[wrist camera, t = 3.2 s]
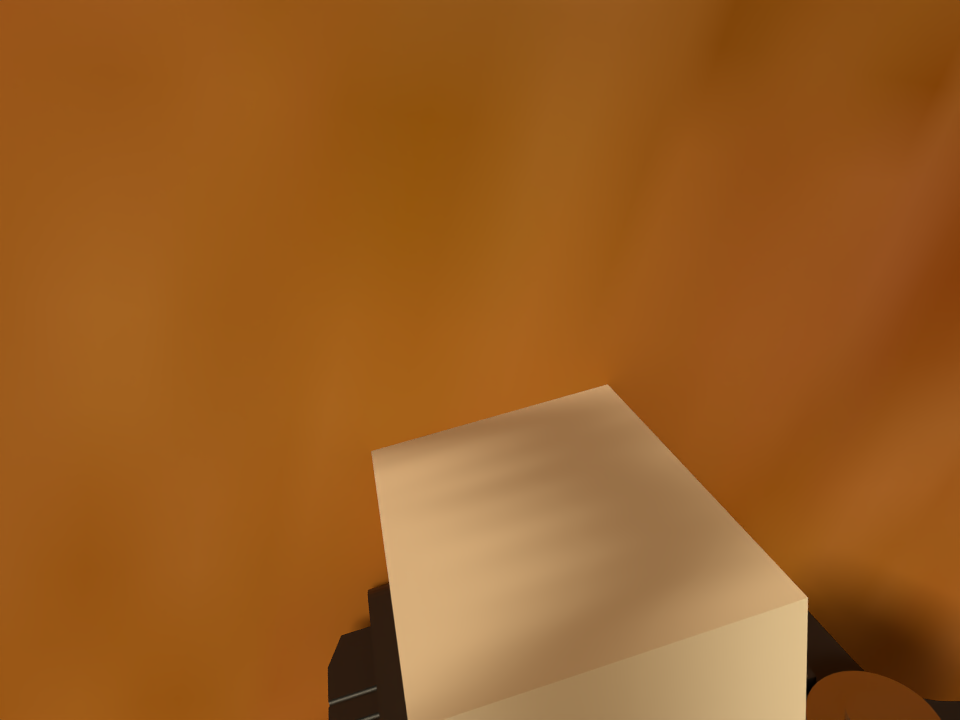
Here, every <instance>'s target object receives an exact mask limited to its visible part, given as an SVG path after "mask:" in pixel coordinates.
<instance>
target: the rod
mask: <svg viewBox="0 0 960 720" xmlns="http://www.w3.org/2000/svg"><path fill="white" fill-rule="evenodd" d="M371 452H372V459H373V467H374V474H375V481H376V489H377V496H378V503H379V511H380V518H381V526H382V533H383V540H384V548H385V555H386V562H387V570H388V577H389V585H390V592H391V599H392V607H393V614H394V622H395V629H396V636H397V644H398V651H399V658H400V666H401V673H402V681H403V688H404V695H405V703H406V710H407V717H408V720H806V673H807V622H808V597H807V596H806V595H805V594H804V593H803V592H802V591H801V590H800V589H799V588H798V587H797V586H796V585H795V583H794V582H793V581H792V580H791V579H790V578H789V577H788V576H787V575H786V574H785V573H784V572H783V571H782V570H781V569H780V568H779V566H778V565H777V564H776V563H775V562H774V561H773V560H772V559H771V558H770V557H769V556H768V555H767V554H766V553H765V552H764V550H763V549H762V548H761V547H760V546H759V545H758V544H757V543H756V542H755V541H754V540H753V539H752V538H751V537H750V536H749V535H748V533H747V532H746V531H745V530H744V529H743V528H742V527H741V526H740V525H739V524H738V523H737V522H736V521H735V520H734V519H733V517H732V516H731V515H730V514H729V513H728V512H727V511H726V510H725V509H724V508H723V507H722V506H721V505H720V504H719V503H718V502H717V500H716V499H715V498H714V497H713V496H712V495H711V494H710V493H709V492H708V491H707V490H706V489H705V488H704V487H703V486H702V484H701V483H700V482H699V481H698V480H697V479H696V478H695V477H694V476H693V475H692V474H691V473H690V472H689V471H688V470H687V469H686V467H685V466H684V465H683V464H682V463H681V462H680V461H679V460H678V459H677V458H676V457H675V456H674V455H673V454H672V453H671V451H670V450H669V449H668V448H667V447H666V446H665V445H664V444H663V443H662V442H661V441H660V440H659V439H658V438H657V437H656V436H655V434H654V433H653V432H652V431H651V430H650V429H649V428H648V427H647V426H646V425H645V424H644V423H643V422H642V421H641V420H640V418H639V417H638V416H637V415H636V414H635V413H634V412H633V411H632V410H631V409H630V408H629V407H628V406H627V405H626V404H625V403H624V401H623V400H622V399H621V398H620V397H619V396H618V395H617V394H616V393H615V392H614V391H613V390H612V389H611V388H610V387H609V385H604V386H601V387H597V388H594V389H590V390H586V391H583V392H579V393H576V394H572V395H569V396H565V397H562V398H558V399H555V400H551V401H548V402H544V403H540V404H537V405H533V406H530V407H526V408H523V409H519V410H516V411H512V412H509V413H505V414H502V415H498V416H494V417H491V418H487V419H484V420H480V421H477V422H473V423H470V424H466V425H463V426H459V427H456V428H452V429H448V430H445V431H441V432H438V433H434V434H431V435H427V436H424V437H420V438H417V439H413V440H410V441H406V442H402V443H399V444H395V445H392V446H388V447H385V448H381V449H378V450H374V451H371Z"/></svg>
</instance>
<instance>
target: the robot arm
mask: <svg viewBox="0 0 960 720" xmlns="http://www.w3.org/2000/svg"><path fill="white" fill-rule="evenodd" d="M368 603H369V613H370V623H371V626H370V627H367V628H364V629H361V630H357V631H354V632H351V633H348V634H345V635H342V636H341V638H340V640H339V642H338V645H337V647H336V650H335V652H334V654H333V657H332V659H331V662H330V664H329V666H328V701H329V705H330V707H329V720H408V717H407V710H406V703H405V695H404V688H403V681H402V673H401V666H400V658H399V651H398V644H397V636H396V629H395V622H394V614H393V607H392V599H391V592H390V585H389V584H385V585H382V586H379V587H376V588H372V589H369V590H368ZM806 720H960V701H935V700H928V699H923V698H922V697H921V696H919V695H918V694H917V693H915V692H914V691H913V690H911V689H910V688H908V687H906V686H905V685H903V684H901V683H899V682H897V681H895V680H893V679H890V678H888V677H885V676H882V675H879V674H875V673H870V672H865V671H864V670H863V669H862V668H861V667H860V666H859V665H858V664H857V663H856V662H855V661H854V660H853V659H852V658H851V657H850V656H849V655H848V654H847V653H846V652H845V651H844V649H843V648H842V647H841V646H840V645H839V644H838V643H837V642H836V641H835V640H834V639H833V638H832V636H831V635H830V634H829V633H828V632H827V631H826V630H825V629H824V628H823V627H822V626H821V624H820V623H819V622H818V621H817V620H816V619H815V618H814V617H813V616H812V615H811V614H810V612H809V611H808V622H807V673H806Z"/></svg>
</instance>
